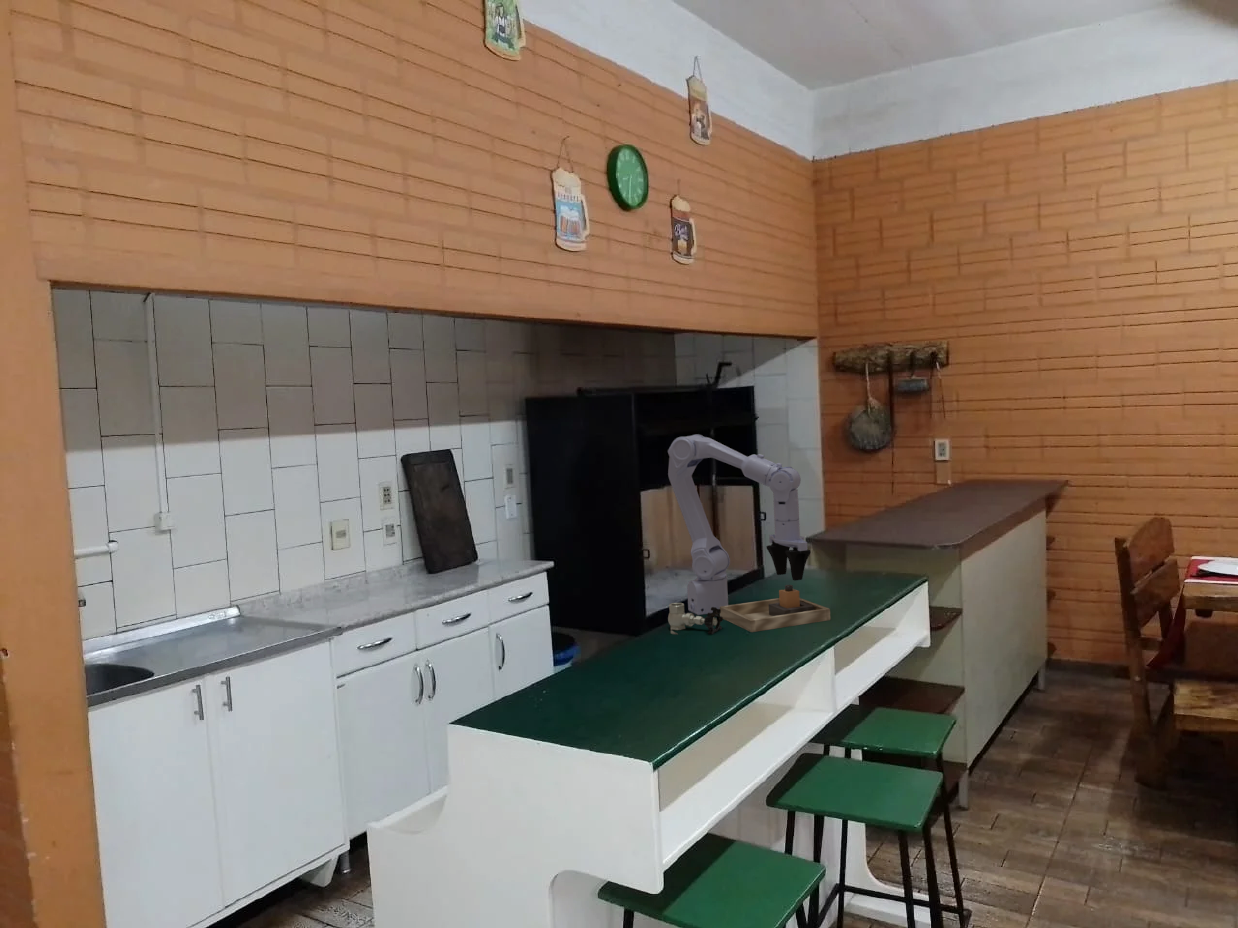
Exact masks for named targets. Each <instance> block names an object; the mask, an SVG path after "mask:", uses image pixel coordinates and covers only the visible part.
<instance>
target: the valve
mask: <svg viewBox="0 0 1238 928" xmlns="http://www.w3.org/2000/svg"><path fill="white" fill-rule="evenodd" d="M668 604H669V605H668V606H669V607H668V609H669V613H668V617H667V621H668V624H669V625H670V634H672V635H678V633H677V632H675V631H682V630H686V627H693V625H695V624H696V625H698V626H699V625H701V626H702V625H704V626H705V627H706V628H707V629H708V631H707V633H708V635H714V634H715V633H717V632H719V631H721V630H722V629H723V628H722V625H721V622H723V620H724V619H723V617H721V616H720V613H721V610H720V609H717V608H716V607H711V610H713V612H712V613H708V614H706V616H705V617H703V616H700V615H696V616H695V614H694V613H693V612H687V613H686V612H685V604H684V603H682V602H672V603H668ZM714 627H715V628H714Z"/></svg>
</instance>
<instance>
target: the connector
mask: <svg viewBox="0 0 1238 928" xmlns="http://www.w3.org/2000/svg"><path fill="white" fill-rule="evenodd" d="M778 595H779V596H778V597H779V601H780V606H782V607H785V608H794V607H800V598H801V597H800V590H797V589H794V586H793V584H785V585H784V589H779V590H778Z"/></svg>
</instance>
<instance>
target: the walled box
mask: <svg viewBox="0 0 1238 928" xmlns="http://www.w3.org/2000/svg"><path fill="white" fill-rule="evenodd" d="M720 610H721V613H720V616H721V617H723V620H724V621H727V622H730V623H732V624H733V625H736V626H737V627H740V628H742V629H743V630H746V631H748V632H750V633H755V632H761V631H768V630H774V629H781V628H789V627H793V626H794V627H795V626H799V625H800V626H801V625H805V624H806V625H807V624H813V623H819V622H825V621H831V609H830V608H829V607H826V606H823V605H820V604H818V603H815V602H812V601H809V600H807V599H804V598H801V597H800V607H794V608H785V607H782V606H780V601H779V598H778V597H777V598H776V597H775V598H770V599H764V600H758V601H750V602H743V603H736V604H735V603H734V604H728V606H721V607H720Z"/></svg>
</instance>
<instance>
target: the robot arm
mask: <svg viewBox="0 0 1238 928" xmlns="http://www.w3.org/2000/svg"><path fill="white" fill-rule="evenodd" d="M667 453H668V456H669V458H668V471H667V472H668V473H667V475H668V476H667V477H668V479H669V482H670V485H671V488H672V490H673V493H674V496H675V499H676V501H677V504H678V507H679V509H680V512H681V515H682V517H683V520H684V523H685V526H686V529H687V531H688V534H689V536H690V540H691V543H692V545H691V549H690V555H691V558H692V561H691V566H692V567H691V568H692V572H693V573H694V575H695V576H696V579H693V580H690V581H688V583H687V593H686V594H687V608H688V611H689V612H690V613H693V614H694V615H696V616H700V615H707V614H708V613H712V612H713V610H711V607H716V608H717V609H720V607H721V606H728V605H729V597H728V596H729V595H728V577H727V575H728V574H727V569H728V568H729V566H730V564H731V558H730V556H729V553H728V551H726V550H725V549H724V547H723V546H722V543H721V541H720V540H719V539H718V538H717V537H715V535H714V533H713V531H712V529H711V526H710V523H709V520H708V518H707V515H706V512H705V509H704V507H703V504H702V500H701V499H700V496H699V493H698V491H697V487H696V484H695V483H694V479H693V473H694V472H695V469H696V468H697V466H698V464H699V463H701V462H702V461H703V460H704V459H708V458H709V459H710V458H711V459H715V460H717V461H720V462H722V463H726V464H728V465H731V466H733V467H735V468H738V469H740V470H741V472H742V474H743V475H744V477H746V478H747V479H750V480H752V481H755V482H757V483H759V484H761V485H764V486H765V487H767V488H768V487H769V489H770V490H771V492H772V495H773V516H774V517H773V518H774V520H773V521H774V534H773V533H772V534H769V535H768V536H769V540H768V541H769V543H770V545H766V549H767V552H768V554H769V555H770V557H771V559H772V562H773V565H774V569H775V572H776V575H777V576H781V575H786V574H787V569H788V563H789V566H790V574H791V575H790V576H791V578H792V581H796V582H797V581H800V580H801V581H802V580H803V576H804V573H805V567H806V564H807V561H808V558H810V557H809V556H810V555H811V549H808V541H805V536H801V531H800V527H801V526H800V509H799V508H800V506H799V496H798V495H799V492H798V490H799V489H798V488H799V486H800V484H801V480H802V479H801V478H802V477H801V475H800V473H799V472H798V471H797V470H796V469H795V468H793V467H792V466H784V467H783V464H782V463H781V462H777V463H776V462H773V461H771V460H769V459H766V458H765V455H764V454H762V453H759V454H751V455H749V456H748V455H745V454H743V453H741V452H739V451H737V450H735V449H733V448H730V447H729V446H727V445H724V444H722V443H721V442H720V441H719V442H718V441H716V440H715V439H712V438H711V437H707V436H703V435H702V434H699V433H698V434H692V435H687V436H679V437H676V438H674V440H673V441H672V442H671V444H670V446H669V448H668V449H667Z"/></svg>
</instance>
